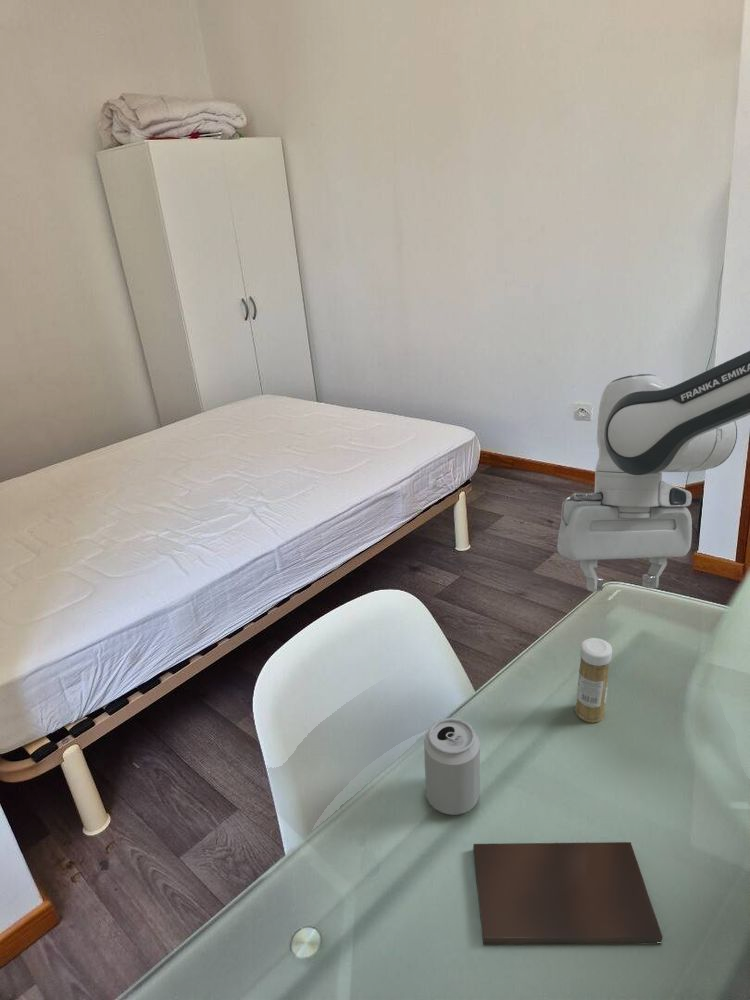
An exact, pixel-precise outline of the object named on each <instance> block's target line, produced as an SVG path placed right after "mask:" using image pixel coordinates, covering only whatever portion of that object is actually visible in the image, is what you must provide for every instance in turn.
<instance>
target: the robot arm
mask: <svg viewBox="0 0 750 1000" xmlns="http://www.w3.org/2000/svg"><path fill="white" fill-rule="evenodd" d="M748 416H750V350H748V351H746V352H744V353H742V354H740V355H738V356H735V357H733V358H731V359H729V360H726V361H725V362H723V363H720V364H718V365H716V366H714V367H712V368H710V369H707V370H706V371H704V372H701V373H699V374H697V375H695V376H693V377H690V378H689V379H687V380H684V381H682V382H680V383H678V384H675V385H673V386H671V385H670V384H668V383H667V382H666V381H664V379H663V378H661V377H660V376H659V375H656V374H649V373H640V374H639V373H638V374H634V375H626V376H622V377H619V378H616V379H614V380H612V381H611V382H609V383H608V384H607V385H606V386H605V387H604V389H603V392H602V393H601V397H600V402H599V406H598V414H597V425H596V426H597V427H596V444H597V447H598V459H597V462H596V465H595V470H594V472H595V473H594V474H595V475H594V492H585V493H582V492H573V493H571V495H569V496H568V497H566V498H565V500H564V501H563V502H562V504H561V516H560V517H561V519H560V524H559V529H558V530H559V531H558V535H557V536H558V537H557V545H556V550H557V552H558V554H559V555H560V557H561V558H563V559H565V560H569V561H579V567H580V568H581V571H582V572H583V574H584V576H585V578H586V590H587V591H590V592H593V593H595V592H602V591H603V590H604V589H603V588H604V587H603V585H604V578H601V577H598V575H597V573H596V570H595V568H598V563H599V561H601V560H626V559H627V560H628V559H629V560H630V559H648V563H651V565H650V567H649V569H648V571H647V573H646V574H642V581H641V585H642V588H647V589H658V588H659V586H660V577H661V575H662V573H664V570H665V569H666V567H667V564H668V558H675V557H676V558H677V557H686V556H687V554H688V553H689V552H690V550H691V547H692V538H693V519H692V514H691V511H690V510H689V508H688V507H689V506H690V505H692V498H693V496H692V492H691V491H689V490H686V489H684V488H681V487H680V486H677V485H674V484H672V483H669V482H667V481H664V480H662V479H663V473H686V472H691V473H692V472H703V471H707V470H710V469H714V468H717V467H718V466H721V465H722V464H724V463H725V462H726V461H727V460H728V459H729V457H731V455H732V453H733V451H734V449H735V447H736V443H737V439H738V427H737V423H736V422H737V421H738V420H741V419H743V418H745V417H748Z"/></svg>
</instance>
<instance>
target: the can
mask: <svg viewBox="0 0 750 1000" xmlns="http://www.w3.org/2000/svg"><path fill="white" fill-rule="evenodd" d="M423 750H424V752H423V753H424V775H425V779H424V780H425V796H426V799H427V801H428V804H430V806H432V807H433V809H435V810H437V811H439V812H440V813H442V814H445V815H446V814H447V815H451V816H453V815H462V814H465V813H468V812H470V811H471V810H472V809H473V808H474V807H475V806H476V805H477V803H478V802H479V798H480V784H481V783H480V779H481V778H480V777H481V775H480V773H481V771H480V770H481V769H480V767H481V764H480V763H481V743H480V738H479V736H478V734H477V733H476V731H475V729H473V727H472V725H471V724H469V723H468V722H467V721H465V720H463V719H462V718H461V719H460V718H455V717H445V718H442V719H439V720H437V721H435V722H433V724H432V725H431V726H430V727H429V730H428V731H427V733H426V734H425V737H424V739H423Z"/></svg>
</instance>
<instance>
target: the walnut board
mask: <svg viewBox="0 0 750 1000" xmlns="http://www.w3.org/2000/svg"><path fill="white" fill-rule="evenodd" d="M472 845H473V848H472V849H473V861H474V869H475V878H476V887H477V897H478V898H477V899H478V907H479V916H480V925H481V936H482V944H483V945H627V944H628V945H642V944H641V943H657V942H663V938H664V937H663V934H662V930H661V929H660V925H659V922H658V920H657V919H658V918H657V916H656V914H655V910H654V908H653V904H652V902H651V899H650V895H649V892H648V890H647V887H646V884H645V880H644V878H643V875H642V872H641V869H640V866H639V863H638V860H637V856H636V854H635V850H634V848H633V845H632V842H630V841H619V842H618V841H616V842H615V841H613V842H612V841H611V842H609V841H608V842H531V843H530V842H529V843H528V842H527V843H526V842H524V843H518V842H517V843H516V842H514V843H511V842H510V843H473V844H472ZM638 943H639V944H638Z"/></svg>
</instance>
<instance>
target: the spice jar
mask: <svg viewBox="0 0 750 1000" xmlns="http://www.w3.org/2000/svg"><path fill="white" fill-rule="evenodd" d="M579 657H580V662H579V663H580V664H579V670H578V681H577V691H576V704H575V707H574V712H575V714H576V716H577V717H578V718H579V719H580V720H582V721H584V722H587V723H592V724H593V723H599V722H601V721H603V719H604V718H605V713H606V711H605V706H606V701H607V694H608V682H609V671H610V663H611V661H612V657H613V648H612V646H611V644H610V643H609V642H608V641H606V640H604V639H601V638H597V637H590V638H586V639H584V640H583V641H582V642H581V644H580V649H579Z"/></svg>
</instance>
